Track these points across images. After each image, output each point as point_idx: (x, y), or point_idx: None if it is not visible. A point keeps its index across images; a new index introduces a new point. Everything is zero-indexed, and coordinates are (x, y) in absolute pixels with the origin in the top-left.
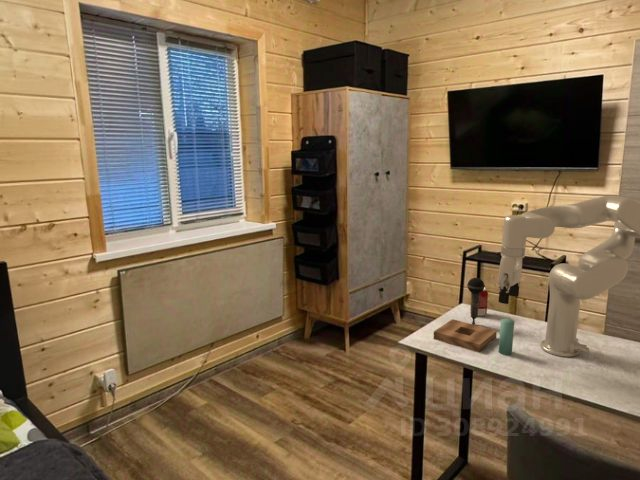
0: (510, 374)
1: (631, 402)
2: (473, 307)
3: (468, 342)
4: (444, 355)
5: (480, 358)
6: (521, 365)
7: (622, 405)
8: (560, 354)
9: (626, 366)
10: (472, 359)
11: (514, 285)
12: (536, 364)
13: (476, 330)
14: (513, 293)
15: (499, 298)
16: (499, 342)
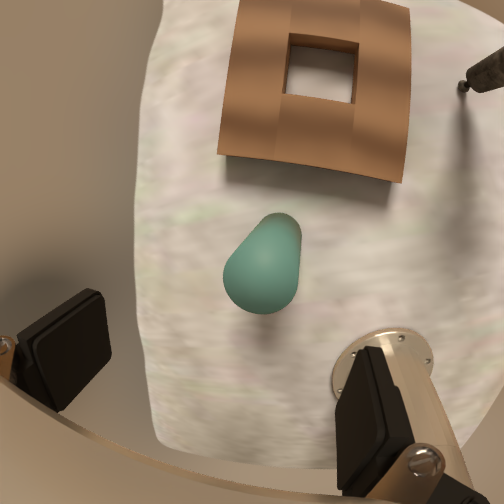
0: (142, 274)
1: (190, 451)
2: (487, 64)
3: (224, 108)
4: (146, 76)
5: (184, 173)
6: (211, 295)
7: (171, 440)
8: (332, 381)
9: None
10: (164, 154)
11: (361, 475)
12: (243, 330)
13: (357, 104)
14: (348, 400)
15: (67, 306)
16: (263, 221)
